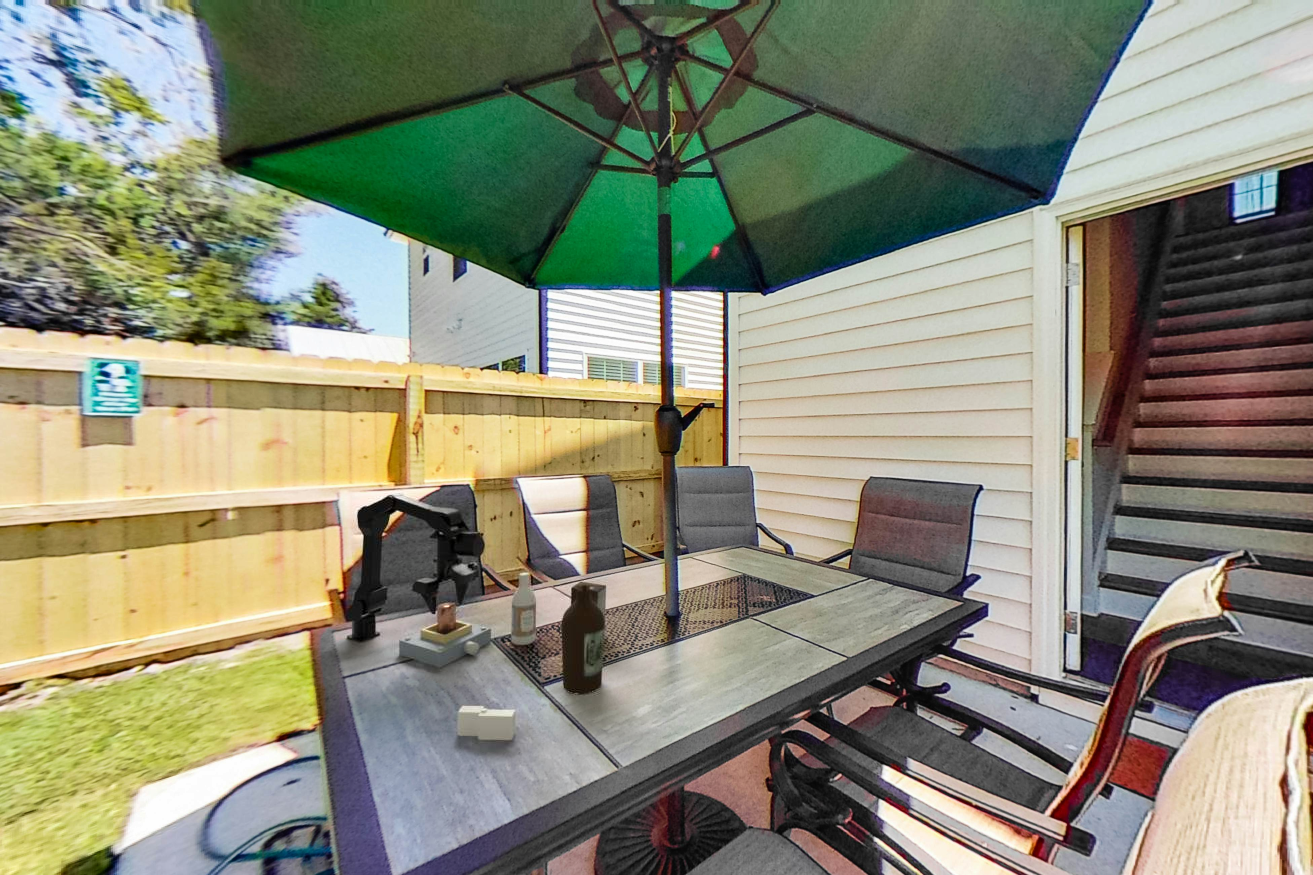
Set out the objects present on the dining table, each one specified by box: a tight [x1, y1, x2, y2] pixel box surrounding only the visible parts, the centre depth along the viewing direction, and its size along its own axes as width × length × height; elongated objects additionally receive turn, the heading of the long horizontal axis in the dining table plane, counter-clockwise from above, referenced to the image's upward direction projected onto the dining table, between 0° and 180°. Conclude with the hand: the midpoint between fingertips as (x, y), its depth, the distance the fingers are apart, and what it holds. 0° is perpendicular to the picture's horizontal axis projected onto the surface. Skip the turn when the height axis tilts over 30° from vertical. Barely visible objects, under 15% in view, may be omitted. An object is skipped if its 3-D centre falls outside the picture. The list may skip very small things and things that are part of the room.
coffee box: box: [570, 581, 607, 638], centre depth 149 cm, size 9×6×16 cm
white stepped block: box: [457, 705, 516, 741], centre depth 103 cm, size 15×11×6 cm
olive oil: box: [560, 581, 606, 695], centre depth 122 cm, size 11×11×25 cm
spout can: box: [436, 602, 459, 635], centre depth 141 cm, size 7×5×8 cm
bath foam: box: [510, 572, 537, 646], centre depth 147 cm, size 7×7×20 cm
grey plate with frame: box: [398, 619, 492, 668], centre depth 141 cm, size 19×18×6 cm
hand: (447, 608), depth 141 cm, fingers open, 9 cm apart
